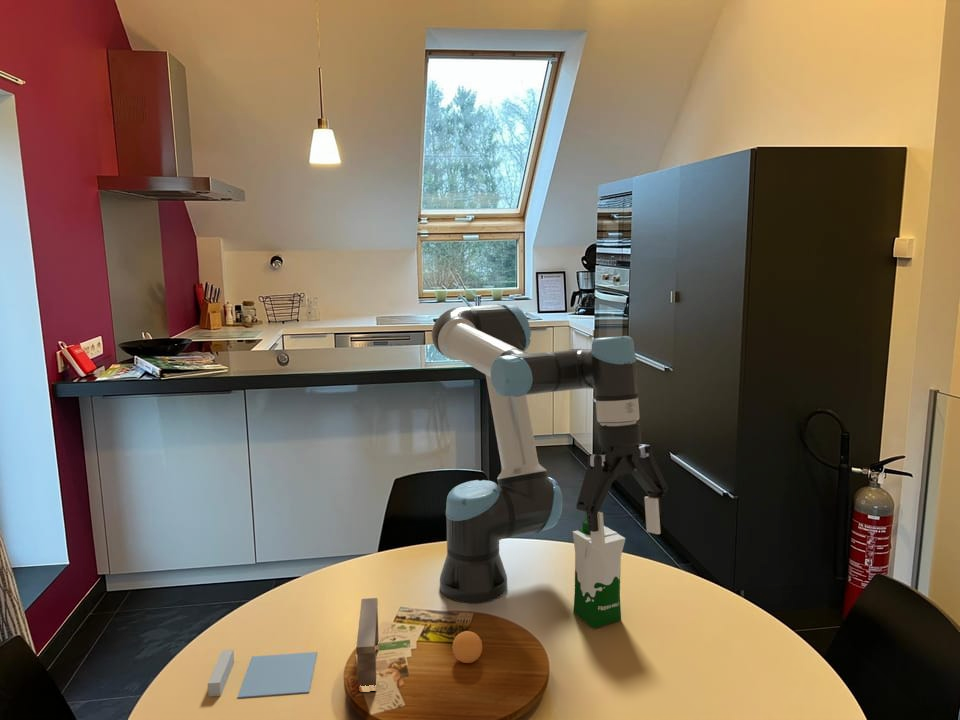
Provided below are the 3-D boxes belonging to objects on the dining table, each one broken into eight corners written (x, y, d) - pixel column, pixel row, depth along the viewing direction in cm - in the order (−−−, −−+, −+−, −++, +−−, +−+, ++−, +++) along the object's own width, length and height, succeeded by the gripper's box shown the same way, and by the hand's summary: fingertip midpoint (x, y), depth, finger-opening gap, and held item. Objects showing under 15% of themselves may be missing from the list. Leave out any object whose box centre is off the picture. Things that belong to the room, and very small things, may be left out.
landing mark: (252, 657, 132) (251, 656, 132) (317, 652, 133) (317, 651, 133) (237, 698, 120) (237, 697, 120) (309, 692, 121) (309, 691, 121)
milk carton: (601, 602, 151) (602, 513, 148) (628, 621, 143) (630, 528, 140) (567, 612, 147) (568, 521, 144) (593, 633, 139) (595, 537, 136)
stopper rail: (223, 662, 130) (222, 650, 130) (234, 661, 130) (233, 649, 130) (208, 696, 120) (207, 683, 120) (220, 695, 121) (219, 682, 120)
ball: (451, 653, 133) (451, 626, 132) (480, 651, 133) (480, 624, 132) (453, 670, 127) (453, 642, 126) (484, 668, 128) (483, 640, 127)
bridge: (358, 697, 120) (356, 647, 119) (363, 643, 136) (361, 598, 135) (376, 695, 120) (374, 646, 119) (378, 642, 137) (377, 597, 135)
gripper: (579, 433, 116) (588, 561, 116) (682, 415, 129) (690, 530, 130) (550, 430, 122) (559, 551, 123) (652, 413, 136) (659, 523, 136)
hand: (626, 540), depth 126 cm, fingers open, 13 cm apart
